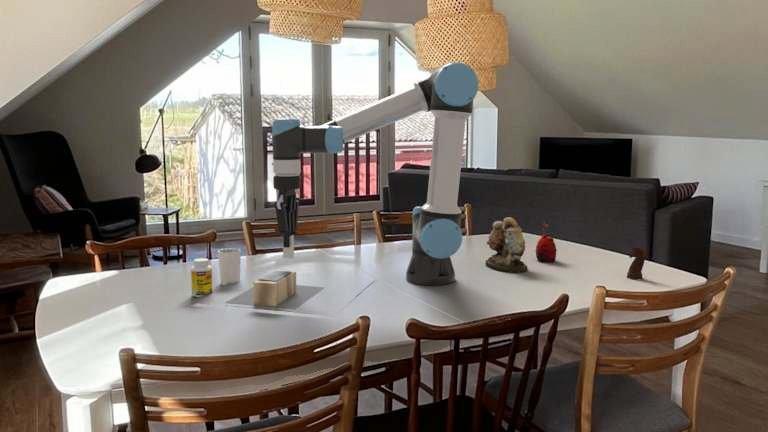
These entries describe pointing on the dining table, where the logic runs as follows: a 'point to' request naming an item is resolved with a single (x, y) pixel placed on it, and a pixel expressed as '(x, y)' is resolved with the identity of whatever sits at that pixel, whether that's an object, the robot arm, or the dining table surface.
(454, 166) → the robot arm
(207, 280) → the supplement bottle
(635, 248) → the chess piece
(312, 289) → the mat
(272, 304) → the oak block
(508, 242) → the owl figurine
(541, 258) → the red clay folk toy
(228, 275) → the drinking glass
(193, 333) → the dining table surface
